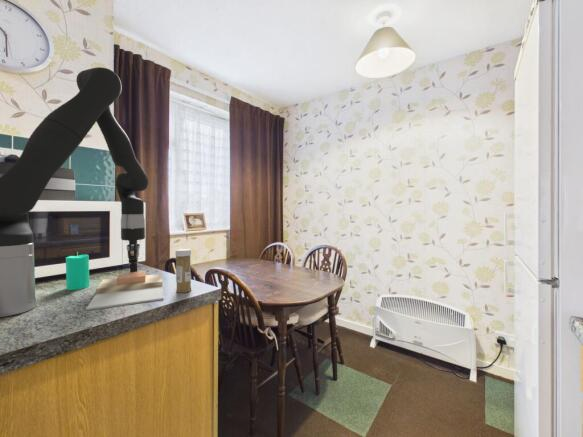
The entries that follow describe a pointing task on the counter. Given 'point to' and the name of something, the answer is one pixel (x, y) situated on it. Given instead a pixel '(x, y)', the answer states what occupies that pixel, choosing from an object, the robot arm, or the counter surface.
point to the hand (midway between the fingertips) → (133, 273)
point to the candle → (77, 272)
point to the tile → (131, 277)
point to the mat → (126, 297)
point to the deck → (112, 286)
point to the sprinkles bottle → (183, 270)
